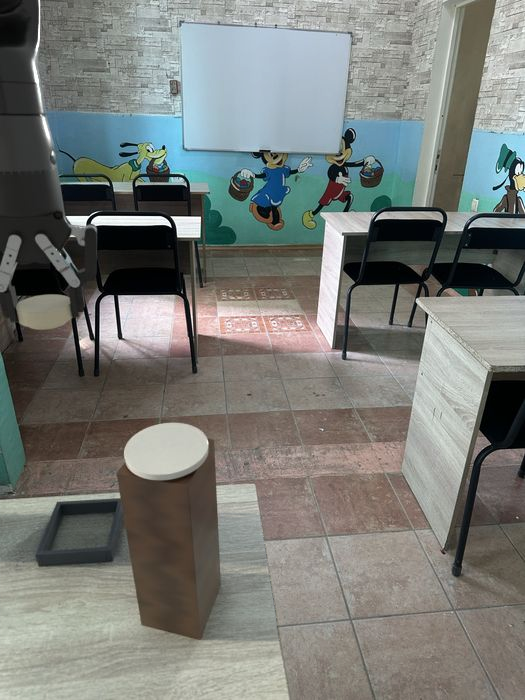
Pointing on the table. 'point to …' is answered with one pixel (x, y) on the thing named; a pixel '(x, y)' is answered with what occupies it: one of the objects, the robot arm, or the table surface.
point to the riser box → (173, 546)
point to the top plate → (44, 311)
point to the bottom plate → (166, 451)
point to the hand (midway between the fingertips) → (46, 317)
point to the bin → (83, 554)
